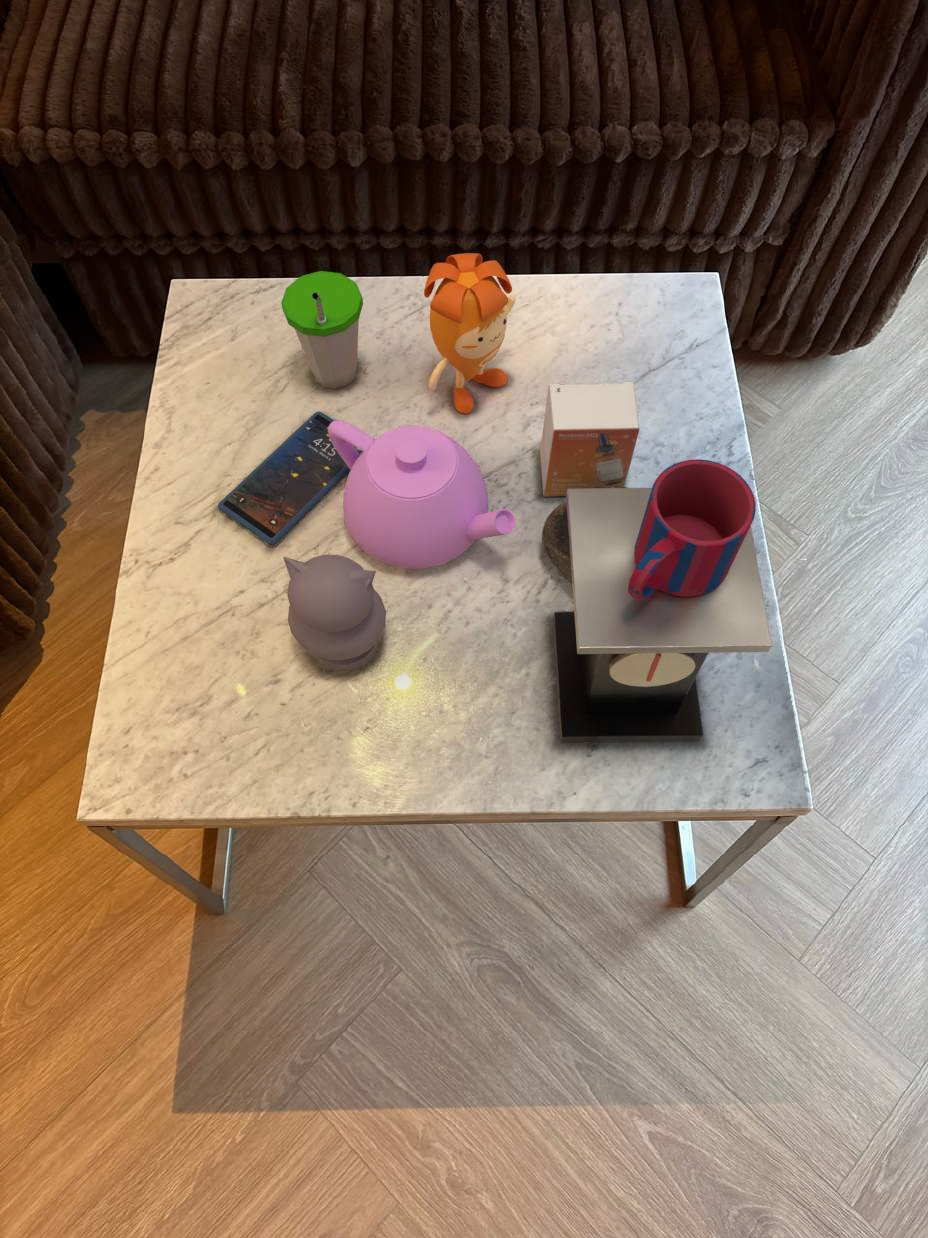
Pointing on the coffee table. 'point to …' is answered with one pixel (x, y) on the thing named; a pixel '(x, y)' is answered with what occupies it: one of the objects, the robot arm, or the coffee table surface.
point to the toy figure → (468, 321)
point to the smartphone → (288, 482)
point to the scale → (641, 630)
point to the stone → (560, 538)
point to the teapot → (414, 495)
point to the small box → (588, 436)
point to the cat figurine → (335, 610)
